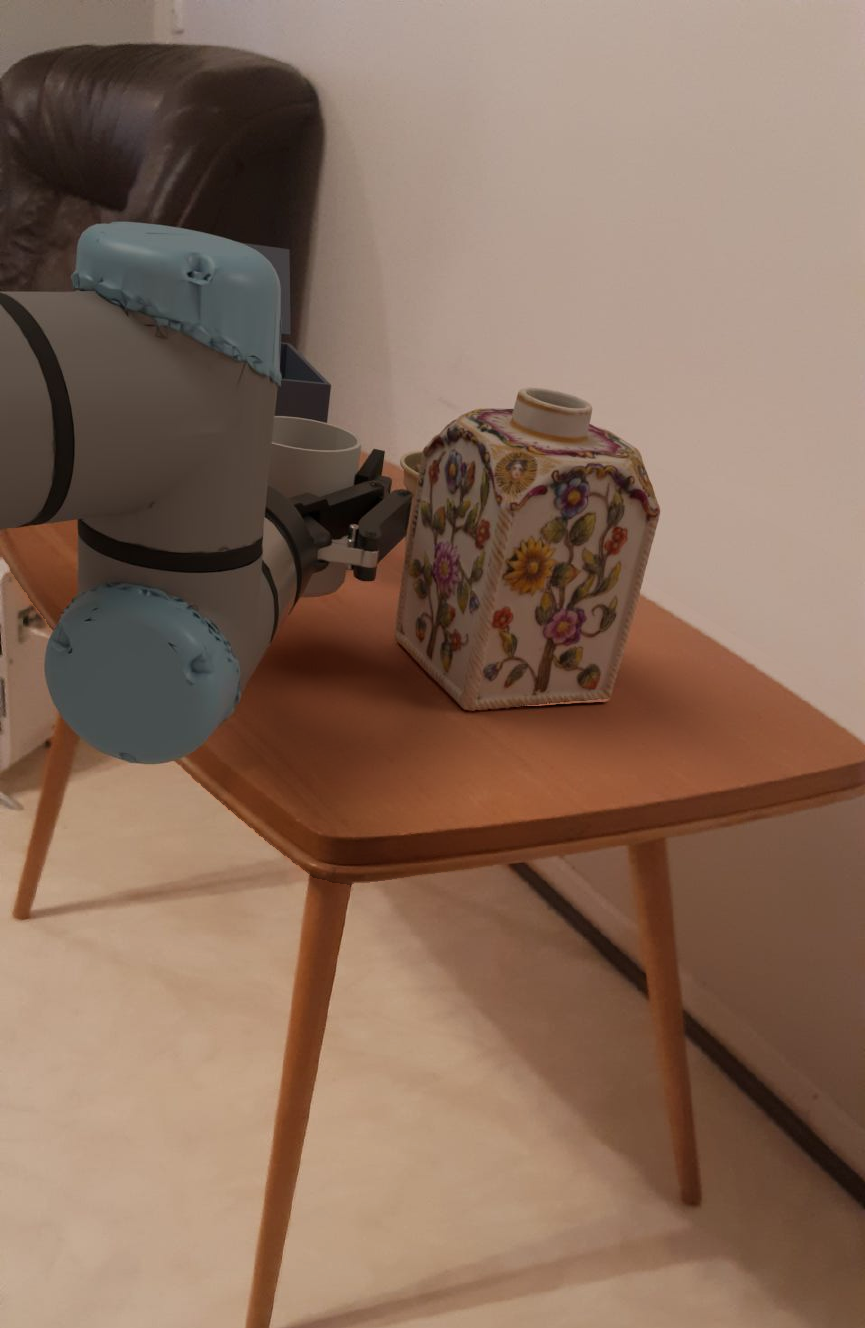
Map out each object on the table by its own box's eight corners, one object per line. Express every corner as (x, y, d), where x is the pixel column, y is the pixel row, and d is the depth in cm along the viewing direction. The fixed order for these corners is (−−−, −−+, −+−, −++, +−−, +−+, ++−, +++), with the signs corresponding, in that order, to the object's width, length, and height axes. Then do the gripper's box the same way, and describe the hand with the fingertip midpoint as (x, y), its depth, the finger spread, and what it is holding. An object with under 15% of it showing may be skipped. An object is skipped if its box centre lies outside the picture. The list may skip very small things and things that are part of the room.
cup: (251, 599, 74) (262, 449, 69) (207, 541, 81) (214, 400, 76) (361, 598, 77) (379, 454, 72) (309, 542, 84) (322, 407, 79)
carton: (123, 518, 97) (125, 364, 90) (102, 464, 107) (103, 322, 100) (315, 528, 102) (331, 384, 96) (278, 476, 112) (290, 343, 106)
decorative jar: (388, 638, 85) (429, 364, 75) (530, 634, 91) (587, 377, 80) (464, 716, 77) (522, 421, 67) (615, 707, 82) (691, 430, 72)
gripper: (31, 601, 63) (164, 485, 82) (411, 681, 63) (457, 546, 82) (27, 453, 59) (168, 366, 77) (435, 538, 59) (478, 430, 77)
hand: (316, 458), depth 80 cm, fingers closed on cup, 7 cm apart
